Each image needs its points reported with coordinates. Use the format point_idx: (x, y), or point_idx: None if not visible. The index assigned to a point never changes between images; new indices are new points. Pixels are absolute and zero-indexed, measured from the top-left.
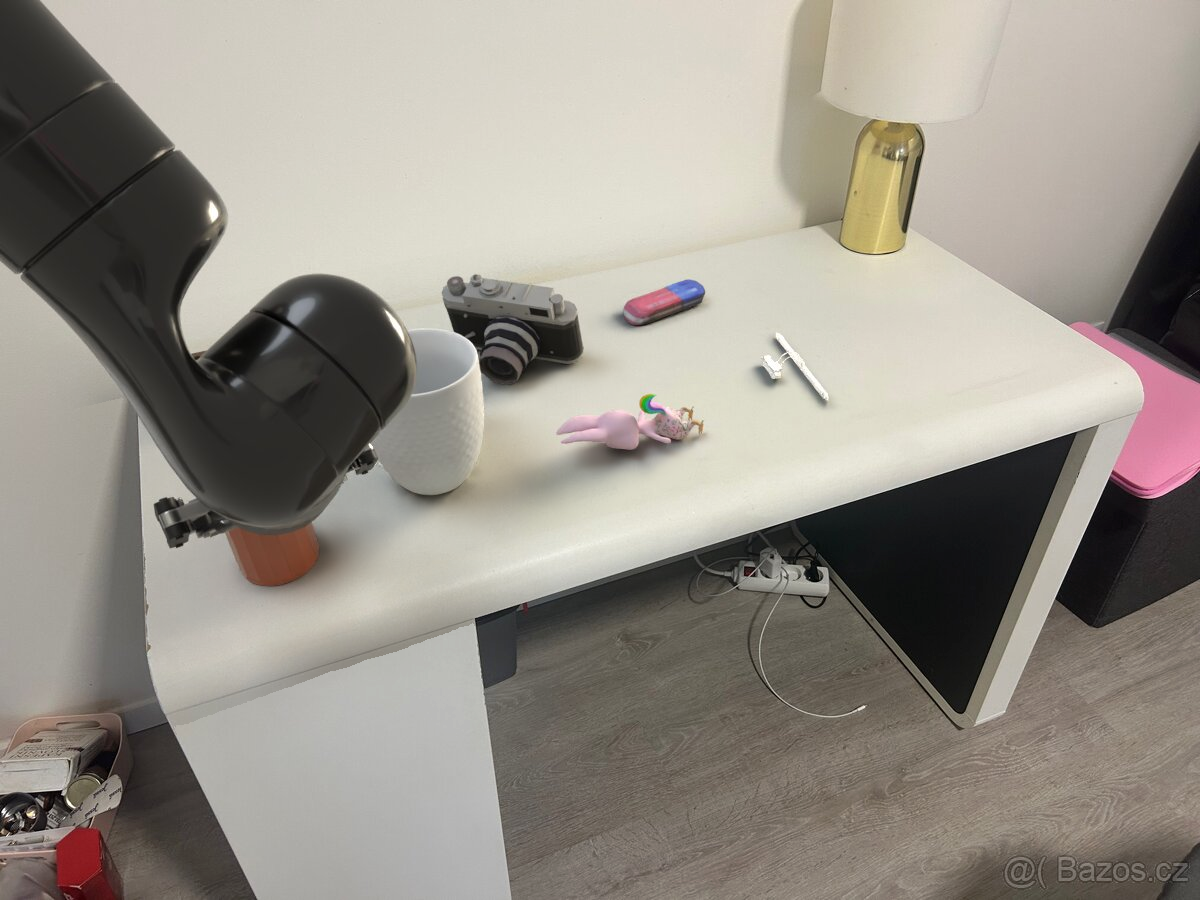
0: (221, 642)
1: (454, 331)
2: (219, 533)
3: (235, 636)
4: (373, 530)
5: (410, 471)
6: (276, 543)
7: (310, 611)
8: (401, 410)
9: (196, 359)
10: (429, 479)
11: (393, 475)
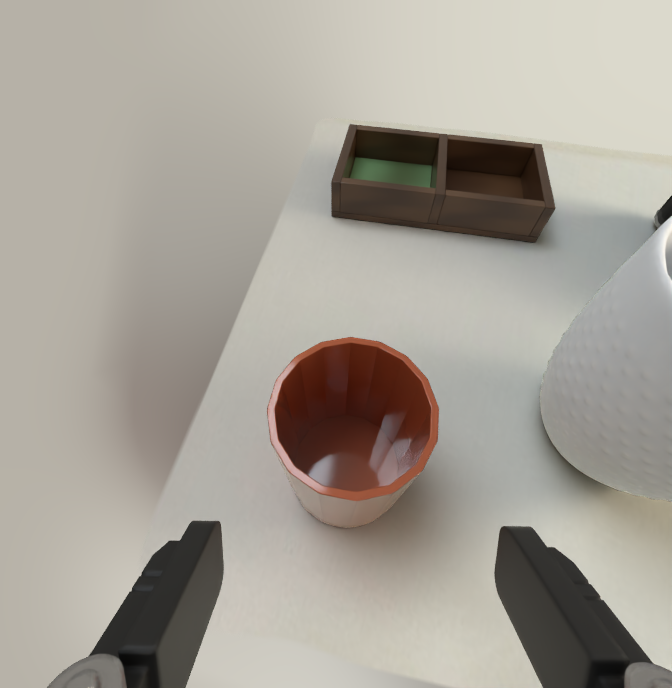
0: None
1: (670, 207)
2: (215, 602)
3: (234, 595)
4: (483, 493)
5: (611, 471)
6: (344, 516)
7: (348, 619)
8: None
9: (361, 133)
10: (626, 488)
11: (559, 437)
